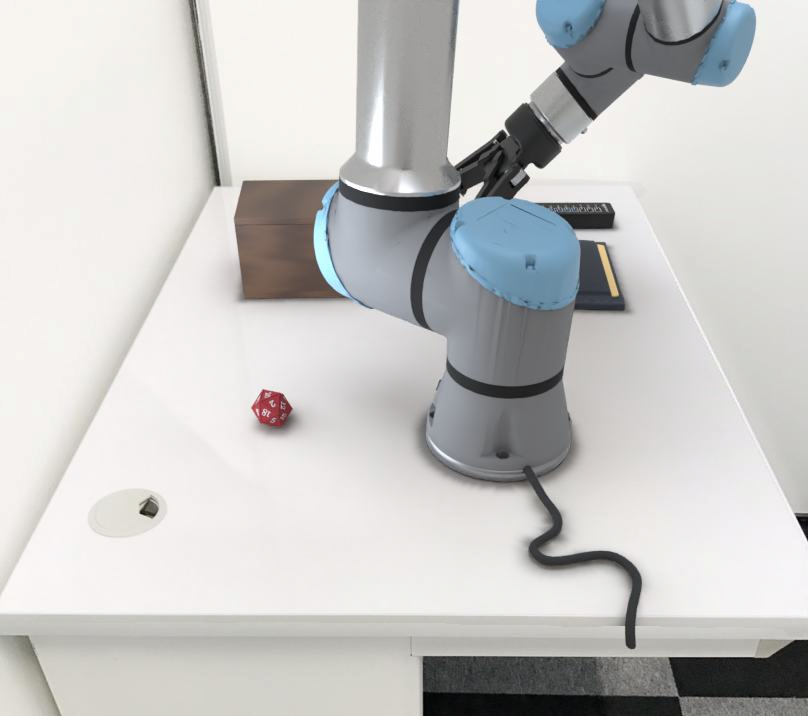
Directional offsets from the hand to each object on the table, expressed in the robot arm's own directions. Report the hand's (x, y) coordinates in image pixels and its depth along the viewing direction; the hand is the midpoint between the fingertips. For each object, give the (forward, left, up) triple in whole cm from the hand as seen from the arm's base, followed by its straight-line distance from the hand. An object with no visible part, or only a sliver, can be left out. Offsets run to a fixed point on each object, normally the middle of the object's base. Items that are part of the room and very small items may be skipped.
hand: (422, 243), depth 115 cm
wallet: (-13, -14, -5) cm, 20 cm away
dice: (-15, +37, -5) cm, 40 cm away
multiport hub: (-2, -29, -5) cm, 29 cm away
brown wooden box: (+11, +13, -4) cm, 17 cm away
